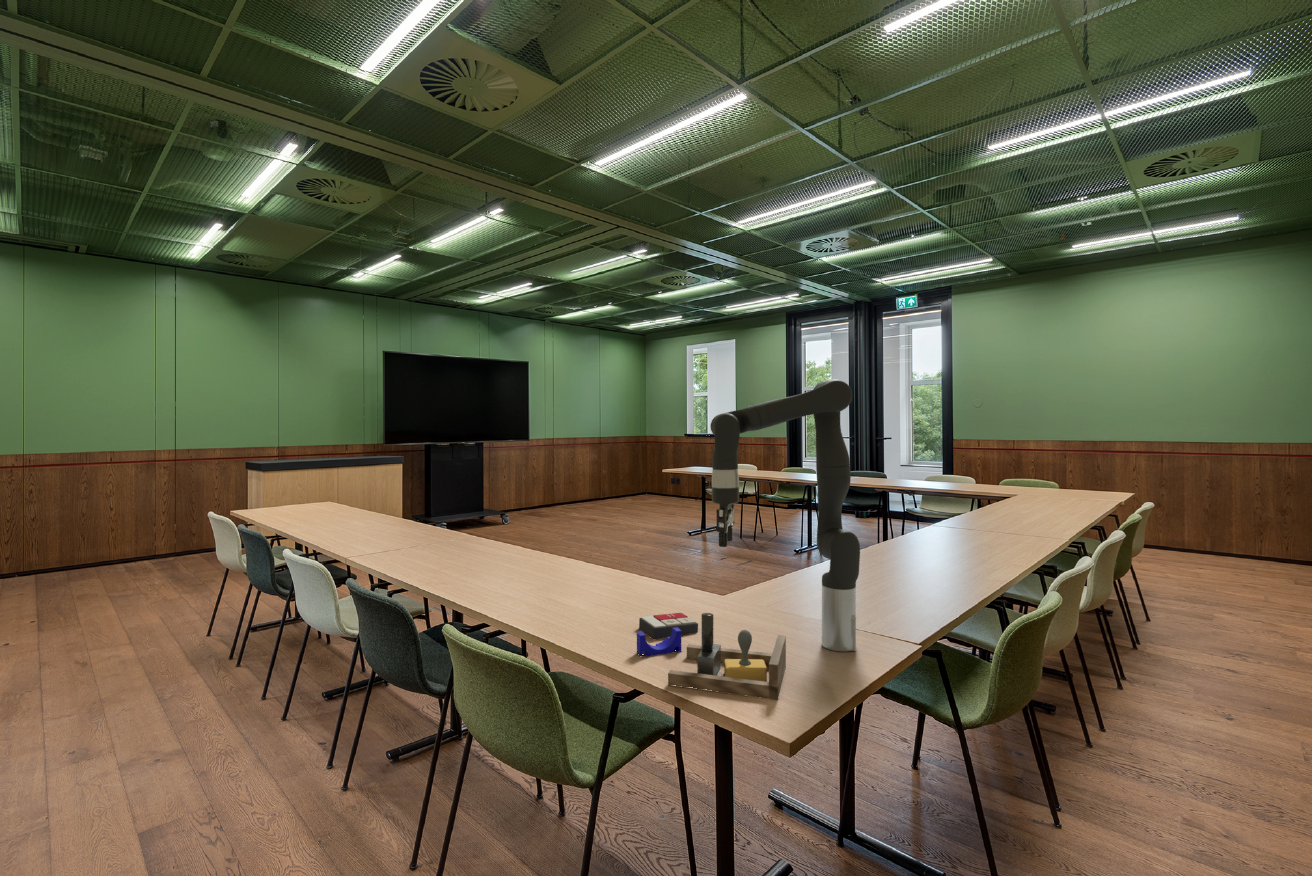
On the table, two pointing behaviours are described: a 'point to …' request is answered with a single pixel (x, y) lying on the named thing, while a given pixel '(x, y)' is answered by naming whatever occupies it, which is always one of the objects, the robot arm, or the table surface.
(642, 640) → the blue pipe saddle
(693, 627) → the calculator
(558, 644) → the table surface
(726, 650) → the frame
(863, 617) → the table surface
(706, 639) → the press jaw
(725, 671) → the rubber stamp
